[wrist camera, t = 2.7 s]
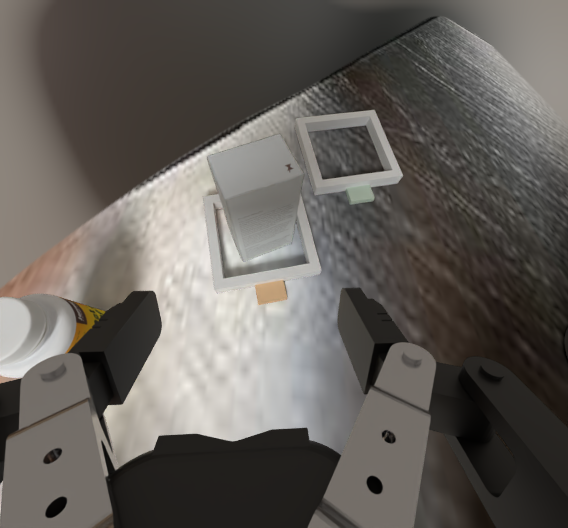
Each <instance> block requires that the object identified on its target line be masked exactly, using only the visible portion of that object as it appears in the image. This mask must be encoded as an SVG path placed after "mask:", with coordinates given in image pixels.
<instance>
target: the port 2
mask: <svg viewBox="0 0 568 528" xmlns="http://www.w3.org/2000/svg"><path fill="white" fill-rule="evenodd" d="M365 125H366V127H367V129H368V132H369V134H370V137H371V139H372V142H373V144H374V147H375V149H376V151H377V154H378V156H379V159H380V161H381V164H382V166H383V169H384V171H383V172H375V173H368V174H361V175H354V176H346V177H339V178H332V179H325V180H322V177H321V173H320V170H319V167H318V164H317V160H316V157H315V154H314V151H313V147H312V144H311V141H310V138H309V134H308V132H312V131H321V130H330V129H339V128H348V127H357V126H365ZM295 130H296V134H297V137H298V141H299V144H300V148H301V151H302V155H303V158H304V162H305V165H306V168H307V172H308V175H309V179H310V182H311V186H312V189H313V193H314V195H321V194H328V193H335V192H342V191H345V192H346V195H347V198H348V201H349V204H350V205H351V204H357V203H364V202H370V201H373V200H374V199H375V198H374V195H373V192H372V190H371V187H376V186H383V185H390V184H397V183H398V182H399V180H400V179H401V178H402V176H403V175H402V172H401V170H400V168H399V165H398V163H397V161H396V159H395V156H394V154H393V152H392V149H391V147H390V145H389V142H388V140H387V138H386V135H385V133H384V131H383V129H382V126H381V124H380V122H379V119H378V117H377V115H376V112H375V110H369V111H359V112H350V113H340V114H331V115H321V116H312V117H302V118H296V121H295Z"/></svg>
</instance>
